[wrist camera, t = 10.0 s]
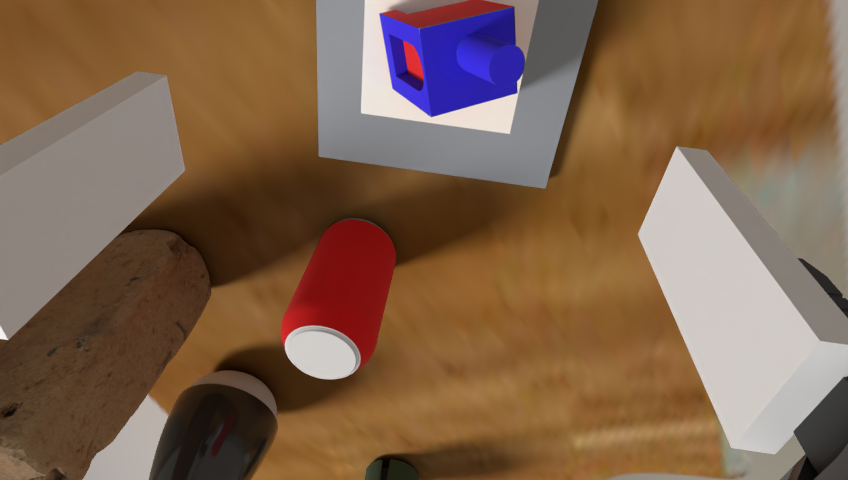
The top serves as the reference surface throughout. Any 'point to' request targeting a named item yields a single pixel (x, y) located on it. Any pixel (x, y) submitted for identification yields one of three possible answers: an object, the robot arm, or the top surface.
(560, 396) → the top surface
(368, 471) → the character mug
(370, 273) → the beverage can
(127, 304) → the block
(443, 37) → the toy building block
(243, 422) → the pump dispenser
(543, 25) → the build base
